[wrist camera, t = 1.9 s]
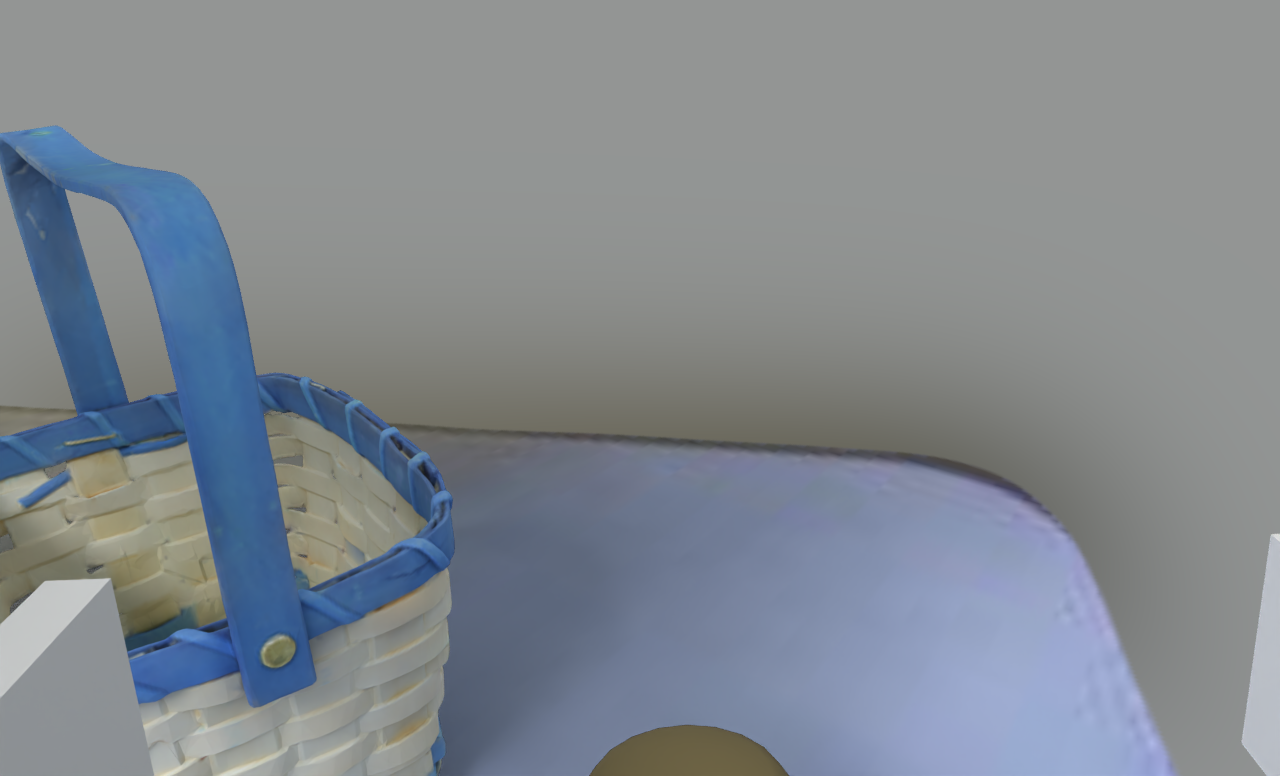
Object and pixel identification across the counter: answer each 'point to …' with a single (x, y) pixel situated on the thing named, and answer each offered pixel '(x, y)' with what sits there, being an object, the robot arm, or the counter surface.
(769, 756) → the cork
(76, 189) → the basket
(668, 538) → the counter surface
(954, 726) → the counter surface
